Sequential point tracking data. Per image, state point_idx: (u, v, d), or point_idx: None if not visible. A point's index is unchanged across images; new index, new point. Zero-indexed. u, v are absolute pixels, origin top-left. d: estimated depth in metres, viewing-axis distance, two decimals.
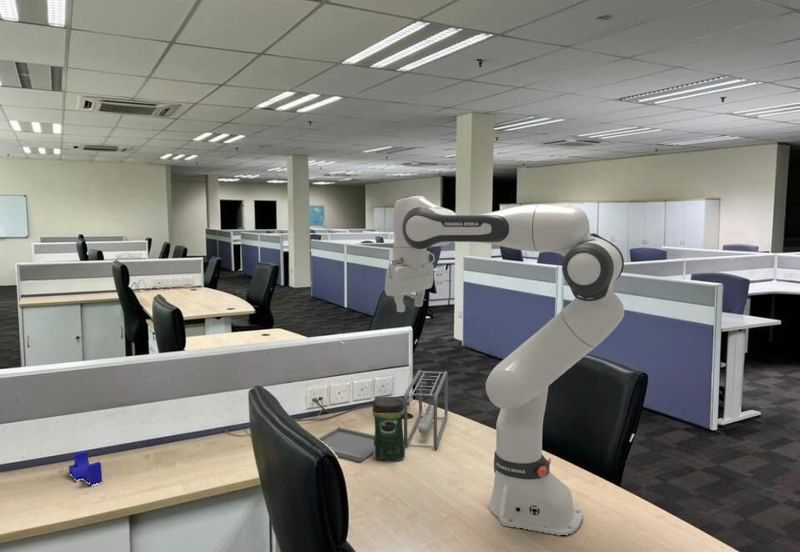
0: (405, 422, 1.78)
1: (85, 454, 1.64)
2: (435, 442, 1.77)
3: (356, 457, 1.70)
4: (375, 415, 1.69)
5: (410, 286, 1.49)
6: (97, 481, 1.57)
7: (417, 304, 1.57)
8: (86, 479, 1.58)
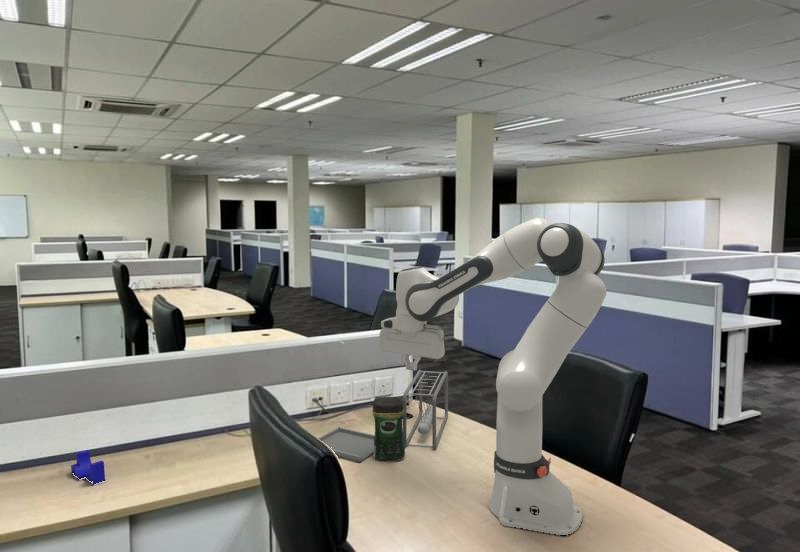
0: (404, 422, 1.78)
1: (87, 453, 1.65)
2: (434, 442, 1.77)
3: (356, 457, 1.70)
4: (375, 415, 1.69)
5: None
6: (100, 480, 1.58)
7: None
8: (89, 478, 1.58)
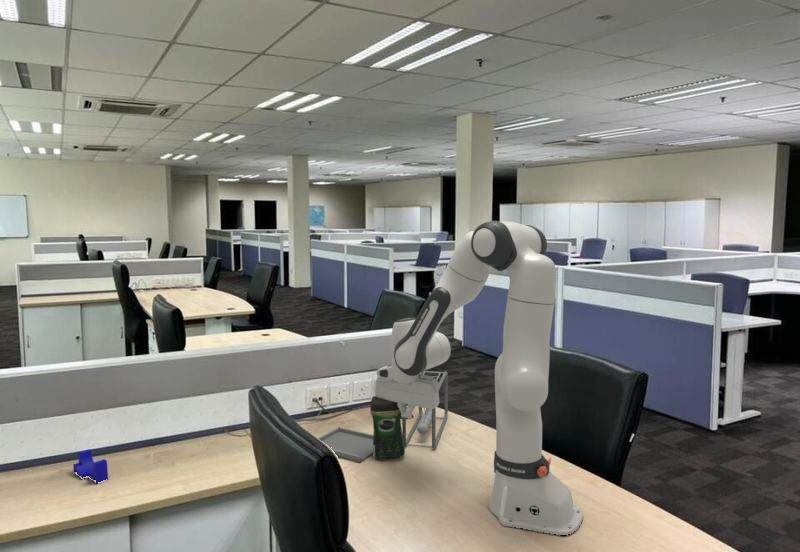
0: (403, 422, 1.79)
1: (89, 452, 1.65)
2: (433, 442, 1.77)
3: (356, 457, 1.70)
4: (373, 414, 1.70)
5: None
6: (103, 478, 1.58)
7: None
8: (92, 477, 1.59)
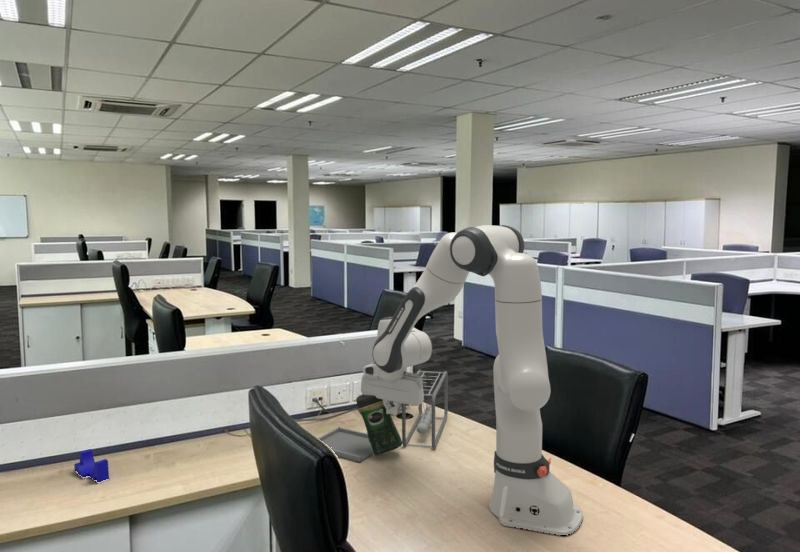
0: (403, 422, 1.79)
1: (90, 452, 1.66)
2: (433, 442, 1.77)
3: (356, 457, 1.70)
4: (360, 411, 1.72)
5: None
6: (104, 478, 1.59)
7: None
8: (93, 476, 1.59)
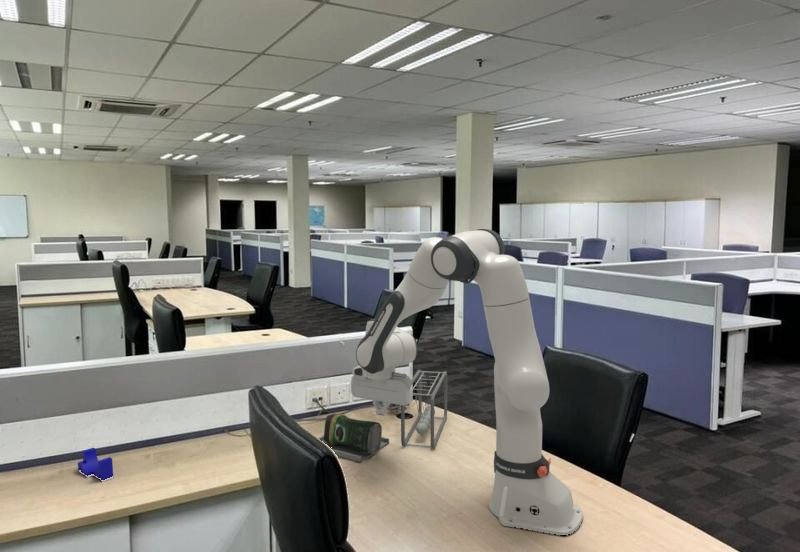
0: (402, 422, 1.79)
1: (94, 450, 1.66)
2: (432, 442, 1.77)
3: (356, 457, 1.70)
4: (332, 443, 1.78)
5: None
6: (108, 476, 1.60)
7: None
8: (97, 474, 1.60)
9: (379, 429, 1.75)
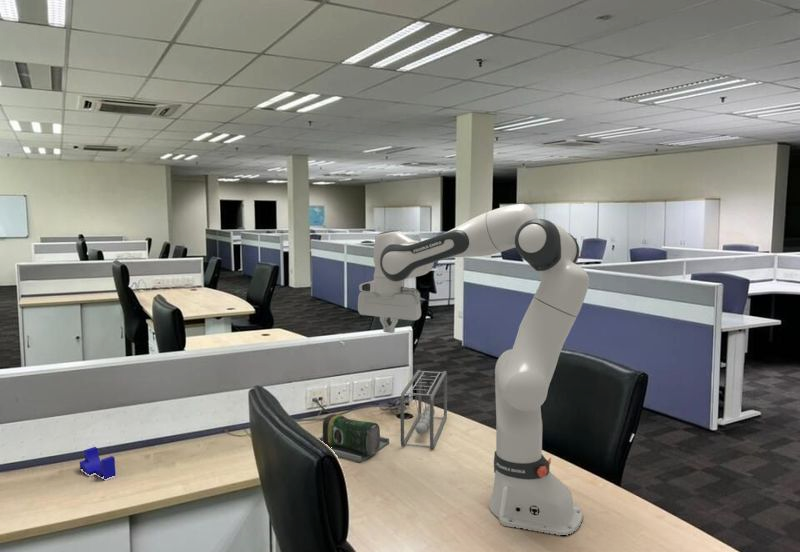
0: (402, 422, 1.79)
1: (95, 450, 1.67)
2: (431, 442, 1.77)
3: (356, 457, 1.70)
4: (332, 445, 1.78)
5: None
6: (111, 475, 1.61)
7: None
8: (99, 473, 1.61)
9: (377, 429, 1.74)
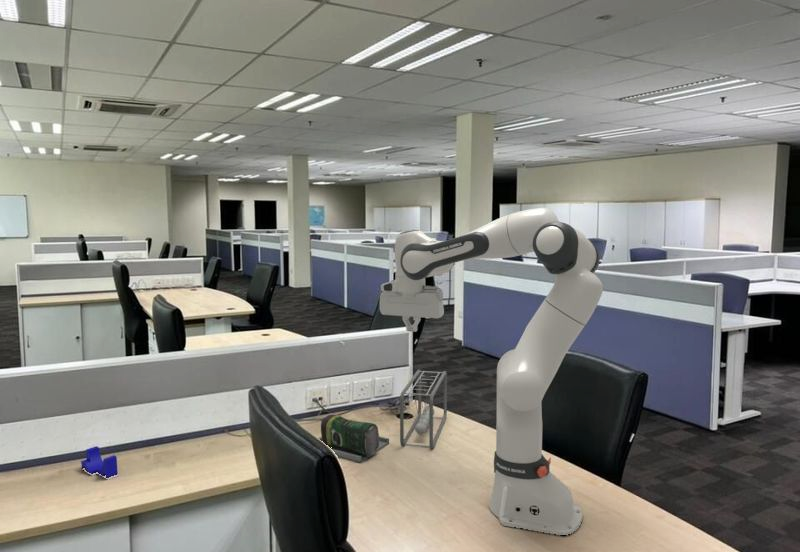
0: (401, 422, 1.79)
1: (97, 449, 1.68)
2: (431, 442, 1.77)
3: (356, 457, 1.70)
4: (331, 446, 1.78)
5: None
6: (113, 474, 1.61)
7: None
8: (101, 473, 1.61)
9: (375, 430, 1.73)
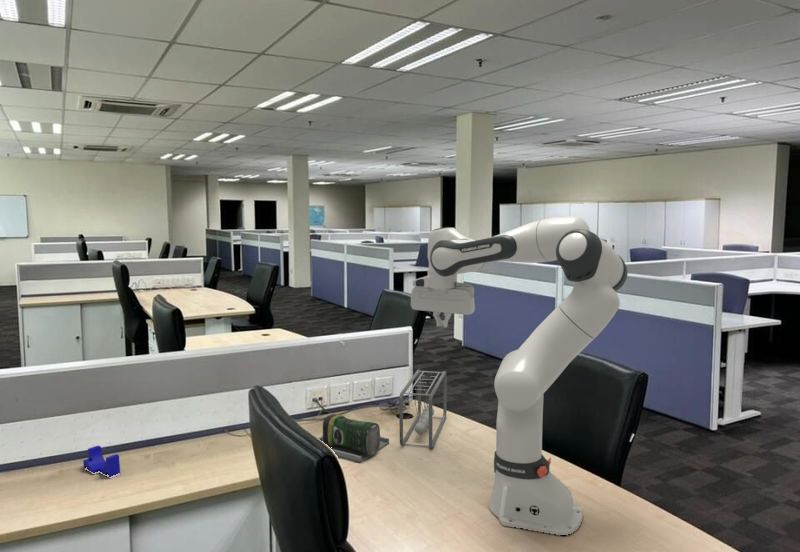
0: (401, 421, 1.79)
1: (99, 448, 1.68)
2: (430, 442, 1.77)
3: (356, 457, 1.70)
4: (332, 445, 1.78)
5: None
6: (115, 473, 1.62)
7: None
8: (104, 471, 1.62)
9: (377, 429, 1.74)
